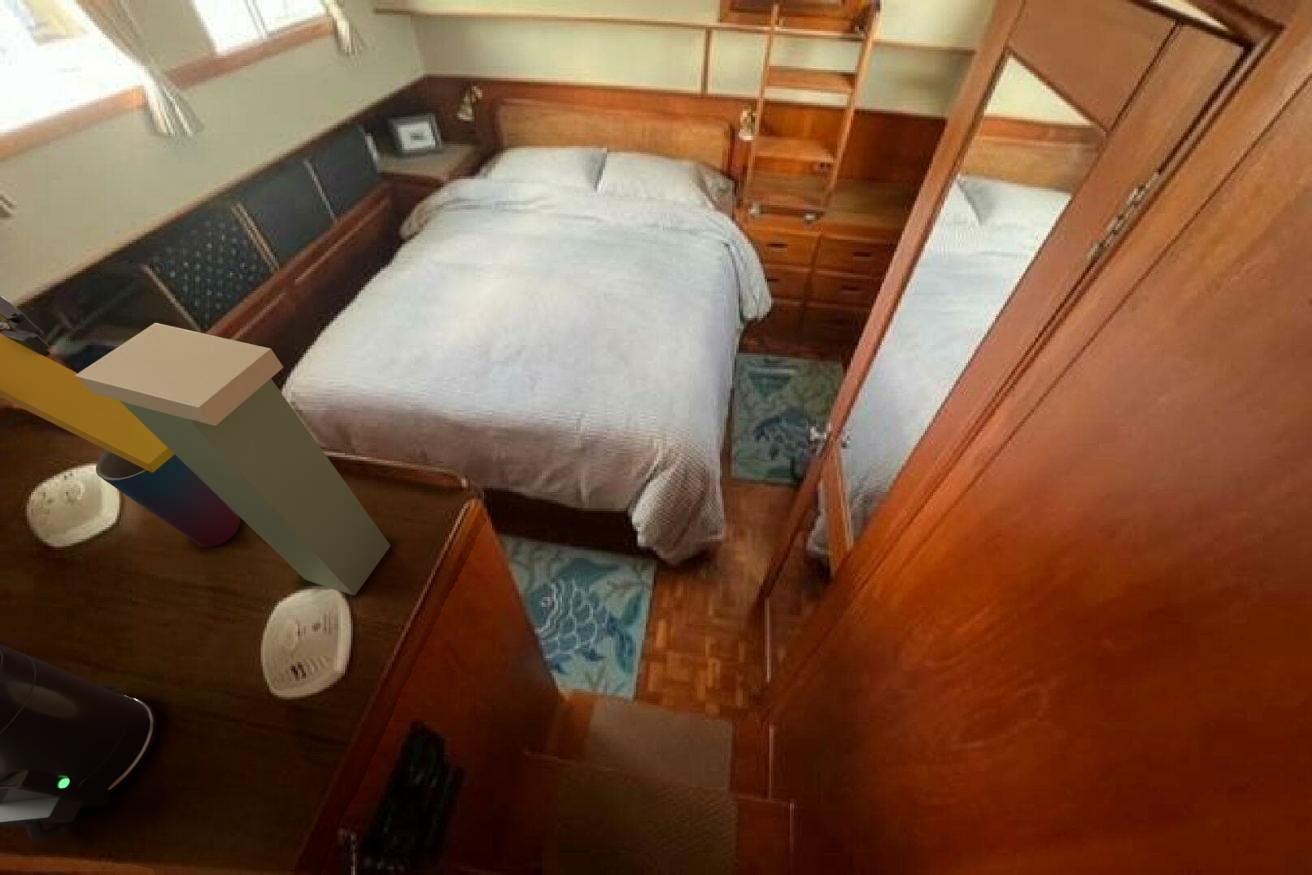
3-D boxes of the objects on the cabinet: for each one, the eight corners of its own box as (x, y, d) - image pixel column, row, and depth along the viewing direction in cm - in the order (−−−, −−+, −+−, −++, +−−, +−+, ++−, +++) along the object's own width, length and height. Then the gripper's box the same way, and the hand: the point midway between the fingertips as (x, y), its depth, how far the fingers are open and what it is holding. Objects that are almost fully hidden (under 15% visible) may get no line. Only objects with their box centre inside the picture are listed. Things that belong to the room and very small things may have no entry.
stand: (408, 550, 67) (271, 348, 43) (373, 601, 63) (198, 407, 39) (327, 527, 69) (155, 322, 46) (288, 574, 65) (74, 375, 41)
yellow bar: (191, 440, 55) (188, 430, 54) (152, 473, 52) (148, 464, 51) (-21, 330, 51) (-30, 317, 50) (-76, 359, 48) (-88, 346, 47)
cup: (229, 553, 67) (144, 480, 56) (175, 552, 67) (79, 479, 56) (258, 508, 71) (184, 432, 60) (207, 507, 71) (124, 431, 60)
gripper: (-268, 344, 45) (-129, 385, 42) (-72, 259, 54) (55, 287, 51) (-167, 408, 51) (-37, 448, 47) (-4, 320, 60) (114, 349, 56)
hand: (10, 364), depth 49 cm, fingers closed on yellow bar, 4 cm apart
